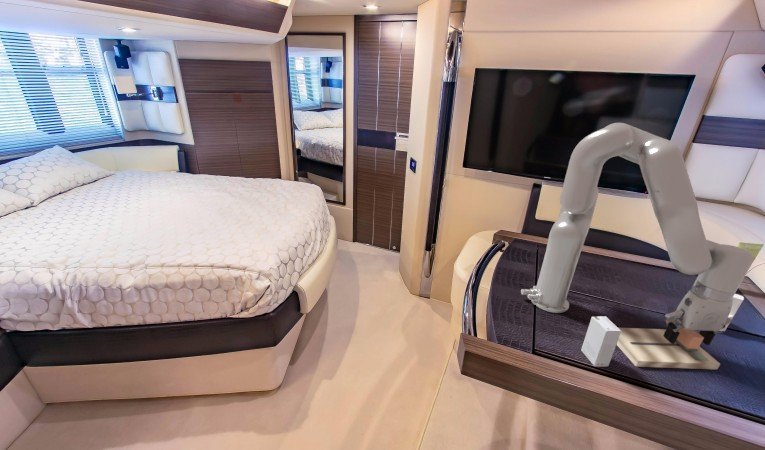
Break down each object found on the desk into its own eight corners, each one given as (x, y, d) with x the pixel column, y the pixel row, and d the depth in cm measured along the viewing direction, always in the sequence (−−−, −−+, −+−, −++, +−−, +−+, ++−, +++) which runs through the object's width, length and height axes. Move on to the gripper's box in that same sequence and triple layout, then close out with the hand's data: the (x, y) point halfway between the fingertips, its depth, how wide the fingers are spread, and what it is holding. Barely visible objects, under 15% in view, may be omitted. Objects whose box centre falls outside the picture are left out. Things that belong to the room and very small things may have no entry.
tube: (733, 293, 120) (759, 247, 112) (715, 286, 124) (739, 241, 116) (738, 289, 123) (764, 244, 115) (720, 283, 127) (744, 238, 119)
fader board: (635, 366, 86) (638, 360, 85) (605, 332, 98) (607, 327, 97) (717, 369, 86) (720, 363, 85) (677, 335, 98) (679, 329, 97)
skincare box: (609, 366, 86) (624, 331, 81) (593, 367, 85) (607, 331, 81) (593, 349, 91) (607, 315, 87) (578, 349, 91) (591, 315, 86)
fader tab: (685, 350, 89) (693, 337, 87) (671, 337, 93) (677, 324, 92) (696, 351, 89) (704, 337, 87) (681, 338, 93) (688, 325, 92)
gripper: (692, 298, 80) (665, 349, 87) (760, 300, 80) (728, 351, 87) (668, 281, 87) (645, 330, 94) (731, 283, 87) (703, 332, 94)
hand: (685, 340), depth 91 cm, fingers open, 9 cm apart
